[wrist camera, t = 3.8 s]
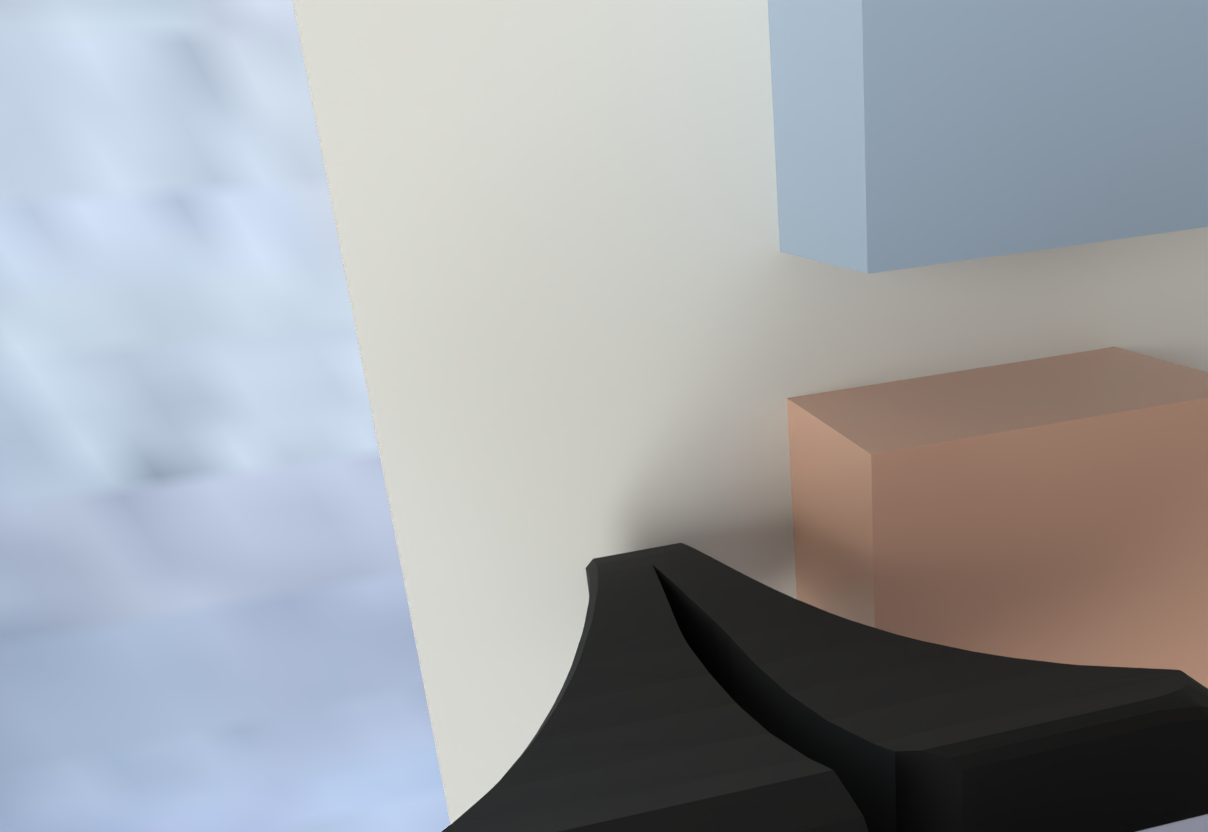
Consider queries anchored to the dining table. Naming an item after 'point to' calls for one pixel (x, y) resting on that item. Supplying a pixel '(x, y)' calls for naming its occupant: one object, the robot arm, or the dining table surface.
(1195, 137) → the tile slate
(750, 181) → the board
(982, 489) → the tile terracotta
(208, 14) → the dining table surface
